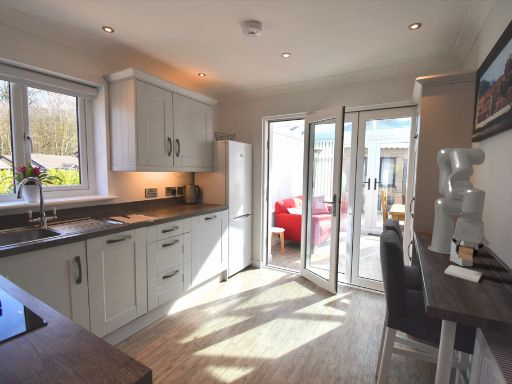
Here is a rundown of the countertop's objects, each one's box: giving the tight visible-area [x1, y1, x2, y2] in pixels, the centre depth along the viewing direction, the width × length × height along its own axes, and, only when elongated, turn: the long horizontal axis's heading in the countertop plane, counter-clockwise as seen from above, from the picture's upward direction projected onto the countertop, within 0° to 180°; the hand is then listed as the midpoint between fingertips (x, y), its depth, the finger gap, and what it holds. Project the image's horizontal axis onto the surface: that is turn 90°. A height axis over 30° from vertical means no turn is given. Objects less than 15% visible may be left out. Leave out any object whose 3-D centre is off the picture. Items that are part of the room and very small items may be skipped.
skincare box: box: [449, 236, 475, 267], centre depth 135 cm, size 8×6×15 cm
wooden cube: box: [458, 245, 475, 261], centre depth 120 cm, size 5×5×5 cm
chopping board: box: [444, 264, 483, 284], centre depth 121 cm, size 12×12×1 cm
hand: (466, 255), depth 120 cm, fingers closed on wooden cube, 5 cm apart
